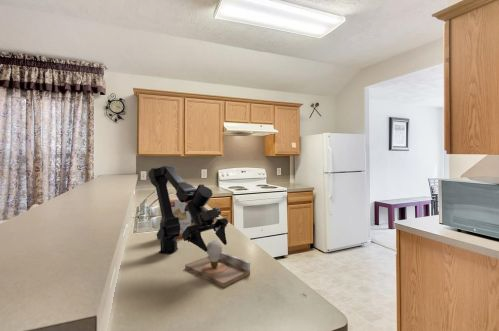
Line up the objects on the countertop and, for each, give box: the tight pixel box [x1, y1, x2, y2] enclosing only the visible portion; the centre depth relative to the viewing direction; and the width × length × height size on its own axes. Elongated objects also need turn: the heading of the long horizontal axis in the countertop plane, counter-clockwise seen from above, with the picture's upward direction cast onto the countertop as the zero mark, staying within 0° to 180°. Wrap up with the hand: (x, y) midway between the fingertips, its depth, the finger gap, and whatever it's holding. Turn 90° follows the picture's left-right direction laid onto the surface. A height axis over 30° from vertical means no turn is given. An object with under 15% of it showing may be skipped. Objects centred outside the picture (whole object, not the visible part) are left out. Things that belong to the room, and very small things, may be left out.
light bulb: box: [206, 240, 223, 268], centre depth 96 cm, size 6×6×10 cm
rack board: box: [184, 251, 251, 288], centre depth 96 cm, size 22×13×4 cm, turn 48°
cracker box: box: [169, 197, 192, 239], centre depth 138 cm, size 14×6×21 cm, turn 117°
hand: (216, 247), depth 95 cm, fingers open, 9 cm apart
